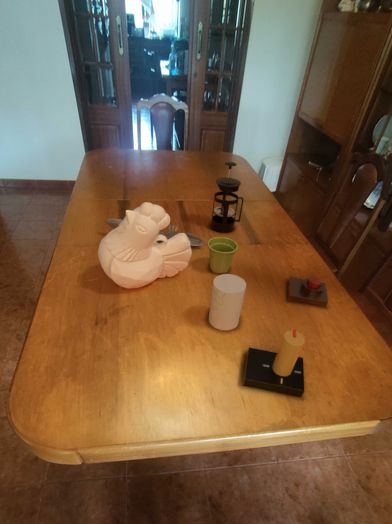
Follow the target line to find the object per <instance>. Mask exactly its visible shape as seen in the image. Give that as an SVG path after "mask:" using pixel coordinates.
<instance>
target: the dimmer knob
mask: <svg viewBox="0 0 392 524" xmlns="http://www.w3.org/2000/svg"><path fill="white" fill-rule="evenodd" d="M305 343H306V338H305V335H304V334H302V333H301V332H299V331H297V329H293V330H287V331H285V332H284V334H283V336H282V339H281V342H280V344H279V347H278V349H277V352H276V353H277V355H276V358H275V360H274V363H273V366H272V369H273V371H274V372H275V373H276V374H277V375H279V376H288V375H290V374H291V372H292V370H293V368H294V365H295V363H296V361H297V359H298V357H300V354H301V352H302V350H303V348H304V346H305Z"/></svg>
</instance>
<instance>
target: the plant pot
mask: <svg viewBox="0 0 392 524" xmlns="http://www.w3.org/2000/svg"><path fill="white" fill-rule="evenodd" d="M207 247H208V251H209V269H210V270H211V272H213V273H215V274H219V275H221V274H227V272H229V270H230V267H231V263H232V260H233V258H234V254H235V253H236V252H237V250H238V248H239V245H238V243H237V241H235V240H234V239H232V238H229V237H223V236H217V237H216V236H215V237H212V238H210V239H209V240H208V241H207Z"/></svg>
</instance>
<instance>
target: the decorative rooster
mask: <svg viewBox="0 0 392 524" xmlns="http://www.w3.org/2000/svg"><path fill="white" fill-rule="evenodd" d="M122 220H123V221H122V222H121V223H120V224H119V226H118V227H117V228H116V227H114V228H113V229H112V230H110V231H109V232H108V233H107V234H106V235H105V236H104V237H103V238H102V239H101V240H100V242H99V245H98V250H97V257H98V260H99V263H100V266H101V269H102V270H103V272H104V273H105V275H106V276H107V277H108V278H110V280H112V281H113V282H114V283H115V284H116V285H118V286H119V287H122V288H123V289H139V288H142V287H145V286H147V285H149V284H151V283H153V282H154V281H156V280H157V279H164V278H166V277H169V278H171V277H174V276H176V275H177V274H179V272H183V271H184V270H185V269H187V268H188V266H189V262H190V261H191V257H192V255H193V249H192V246H190V241H189V239H188V237H187V235H186V234H185V233H186V232H178V233H177V235H175V236H173V237H172V238H170V239H168V238H166V236H164V235H162V234H158V233H159V231H160V230H162V231H163V230H164V229H166V228H167V227H169V225H171V224H170V223H171V217H170V215H169V213H167V212H166V210H165V209H164V207H162V206H161V205H158V204H157V203H154V204H153V203H152V202H148V201H145V202H142V203H141V204H140V206H137V207H135V208H134V209H133V210H130V209H126V210H125V216H124V217H123V219H122ZM167 239H168V240H167ZM159 241H162V242H159Z"/></svg>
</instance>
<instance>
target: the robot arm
mask: <svg viewBox="0 0 392 524" xmlns="http://www.w3.org/2000/svg"><path fill="white" fill-rule="evenodd" d="M385 157H386V167H385V171H384V175H383V180H382V184H381V189H380V193H379V195H380V198H381V199H382V201H385V202H384V204H383V206H382V208H381V210H380V212H379V214H380V216H381V218H380V221H379V222H378V224H377V229H378V232H381V233H386V232H387V231H388V228H389V226H390V224H391V223H392V150H387V151H386V153H385Z"/></svg>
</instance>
